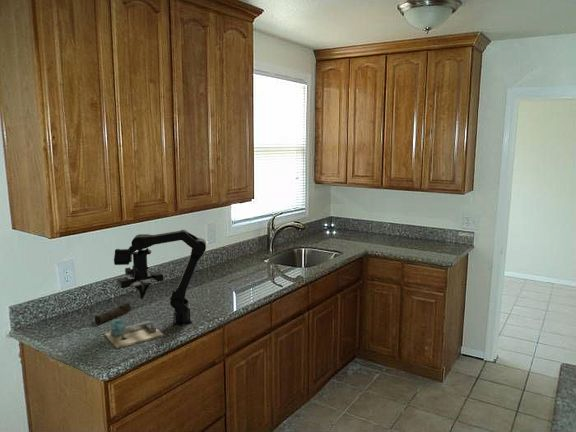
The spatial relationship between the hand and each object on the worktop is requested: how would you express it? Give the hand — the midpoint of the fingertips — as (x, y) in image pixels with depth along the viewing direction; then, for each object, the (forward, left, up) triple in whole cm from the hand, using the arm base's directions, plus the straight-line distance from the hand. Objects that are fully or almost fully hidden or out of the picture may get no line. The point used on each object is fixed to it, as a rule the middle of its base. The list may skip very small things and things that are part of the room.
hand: (141, 298), depth 197 cm
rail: (+7, +5, -12) cm, 15 cm away
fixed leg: (0, +9, -11) cm, 14 cm away
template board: (+7, +9, -12) cm, 17 cm away
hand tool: (+7, -17, -12) cm, 22 cm away
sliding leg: (+12, +7, -11) cm, 18 cm away
